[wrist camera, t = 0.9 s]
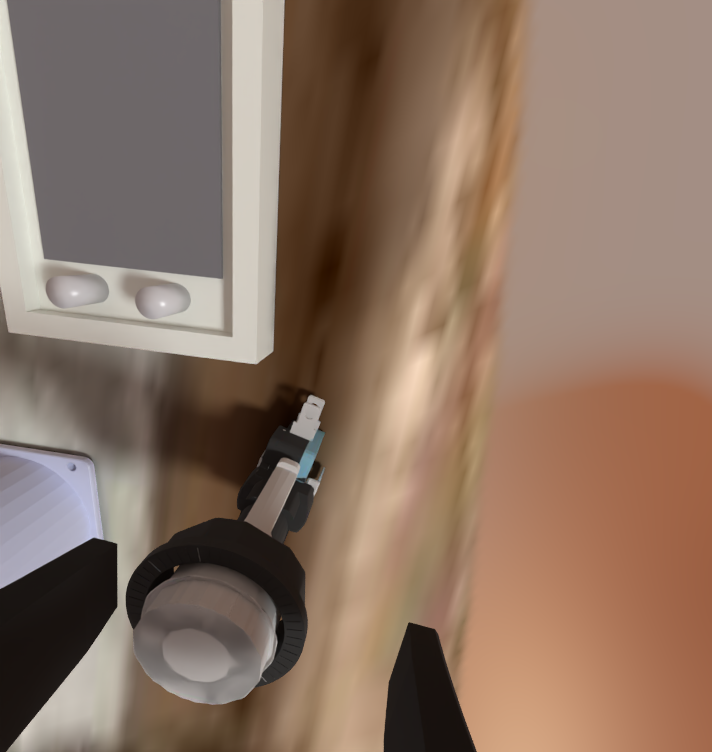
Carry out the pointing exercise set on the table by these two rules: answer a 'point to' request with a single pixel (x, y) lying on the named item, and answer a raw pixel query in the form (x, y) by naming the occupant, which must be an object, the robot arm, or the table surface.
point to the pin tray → (141, 172)
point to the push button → (232, 582)
